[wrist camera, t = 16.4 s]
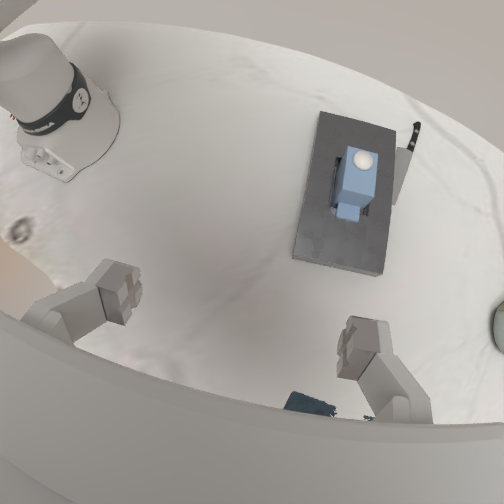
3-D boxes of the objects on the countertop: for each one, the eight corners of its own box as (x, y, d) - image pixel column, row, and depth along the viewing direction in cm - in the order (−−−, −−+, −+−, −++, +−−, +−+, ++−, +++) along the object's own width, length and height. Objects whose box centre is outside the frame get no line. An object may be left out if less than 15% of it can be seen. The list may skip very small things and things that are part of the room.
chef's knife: (371, 209, 45) (389, 218, 44) (373, 207, 44) (391, 216, 43) (405, 117, 47) (420, 125, 46) (407, 113, 46) (422, 121, 45)
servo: (327, 222, 44) (341, 202, 35) (337, 159, 45) (351, 129, 37) (355, 229, 44) (374, 210, 35) (363, 166, 45) (380, 138, 36)
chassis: (291, 258, 43) (293, 254, 40) (317, 121, 47) (320, 111, 44) (375, 276, 42) (382, 274, 39) (389, 140, 46) (395, 131, 43)
